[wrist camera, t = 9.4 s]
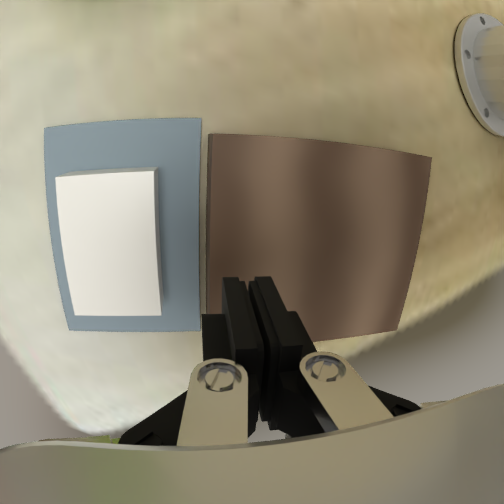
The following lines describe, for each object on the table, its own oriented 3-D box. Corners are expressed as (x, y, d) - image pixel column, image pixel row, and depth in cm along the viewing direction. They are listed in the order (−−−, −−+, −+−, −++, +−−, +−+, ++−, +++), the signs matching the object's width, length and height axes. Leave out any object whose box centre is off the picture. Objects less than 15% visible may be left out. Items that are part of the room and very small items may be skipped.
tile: (55, 177, 16) (69, 171, 18) (74, 315, 19) (84, 297, 21) (153, 171, 17) (158, 166, 19) (161, 315, 20) (163, 296, 22)
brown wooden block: (398, 151, 22) (431, 157, 18) (372, 305, 26) (396, 330, 23) (208, 133, 19) (212, 133, 16) (206, 317, 24) (210, 349, 20)
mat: (201, 118, 19) (201, 118, 19) (200, 328, 24) (200, 330, 24) (45, 128, 17) (44, 127, 17) (70, 328, 22) (69, 330, 22)
